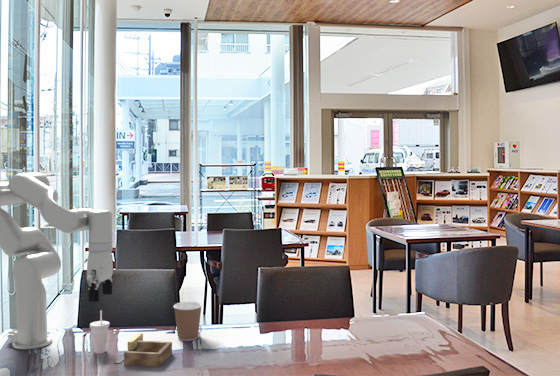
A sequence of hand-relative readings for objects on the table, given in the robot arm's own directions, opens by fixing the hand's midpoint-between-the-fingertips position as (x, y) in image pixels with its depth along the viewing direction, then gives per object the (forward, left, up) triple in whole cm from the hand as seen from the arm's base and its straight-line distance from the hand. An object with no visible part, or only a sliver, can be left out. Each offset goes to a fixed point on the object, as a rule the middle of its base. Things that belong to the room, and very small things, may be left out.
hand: (100, 297), depth 181 cm
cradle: (+17, 0, -18) cm, 25 cm away
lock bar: (+10, +5, -18) cm, 21 cm away
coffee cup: (+25, +18, -19) cm, 36 cm away
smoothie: (0, 0, -19) cm, 19 cm away
